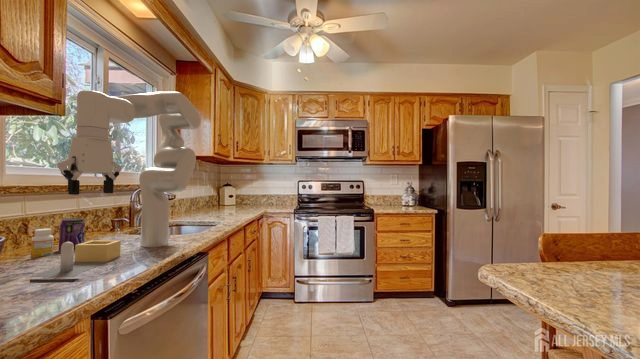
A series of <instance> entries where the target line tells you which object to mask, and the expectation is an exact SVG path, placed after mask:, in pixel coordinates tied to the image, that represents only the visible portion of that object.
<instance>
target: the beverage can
mask: <svg viewBox="0 0 640 359" xmlns="http://www.w3.org/2000/svg"><path fill="white" fill-rule="evenodd" d="M58 231H59V232H58V252H59V251H60V252H61V246H62V244H63V243H65V242H72V243H73V244H74V250H75V245H77V244H81V243H84V242H86V241H85V239H86V238H85V236H86V234H85V233H86V222H85V220H84V218H83V217H72V218H71V217H70V218H69V217H68V218H62V219H61V221H60V224H59V230H58Z"/></svg>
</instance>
